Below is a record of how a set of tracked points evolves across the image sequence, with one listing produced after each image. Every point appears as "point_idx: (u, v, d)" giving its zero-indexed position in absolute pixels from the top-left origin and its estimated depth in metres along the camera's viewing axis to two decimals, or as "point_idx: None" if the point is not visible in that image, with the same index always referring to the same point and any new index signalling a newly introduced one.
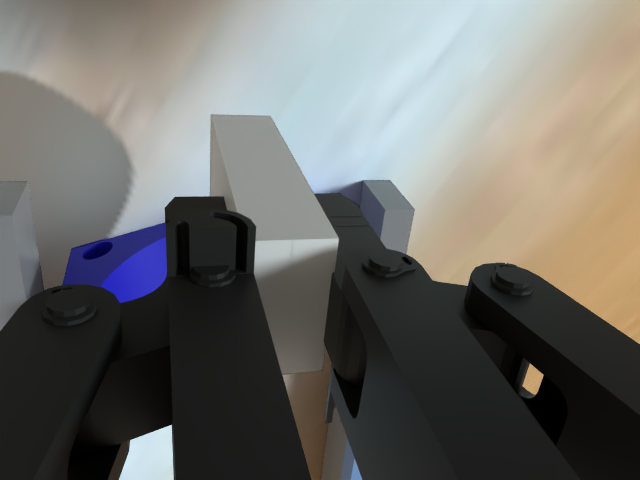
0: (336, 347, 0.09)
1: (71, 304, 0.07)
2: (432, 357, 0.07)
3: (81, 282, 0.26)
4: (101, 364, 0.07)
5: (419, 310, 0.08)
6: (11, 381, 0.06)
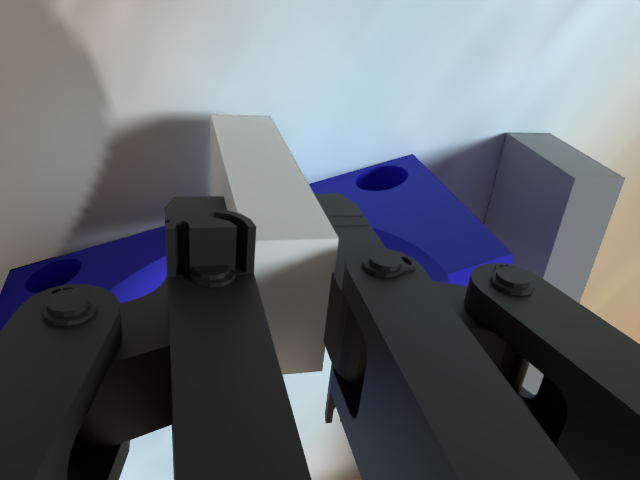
0: (336, 347, 0.09)
1: (71, 304, 0.07)
2: (432, 357, 0.07)
3: None
4: (101, 364, 0.07)
5: (419, 310, 0.08)
6: (12, 382, 0.06)
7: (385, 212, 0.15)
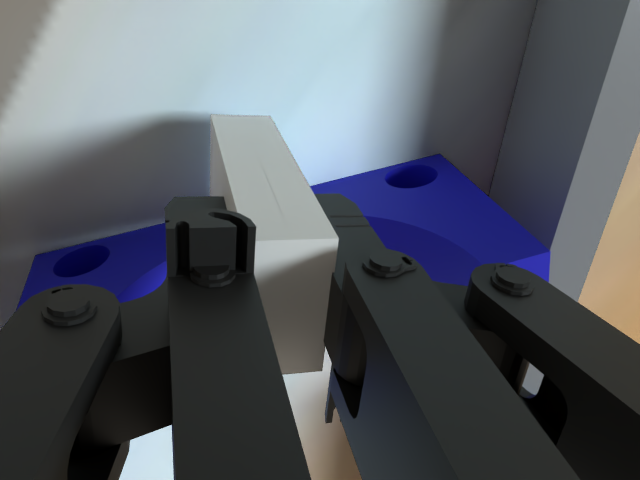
0: (336, 347, 0.09)
1: (71, 304, 0.07)
2: (432, 357, 0.07)
3: None
4: (101, 364, 0.07)
5: (419, 310, 0.08)
6: (11, 382, 0.06)
7: (417, 208, 0.15)
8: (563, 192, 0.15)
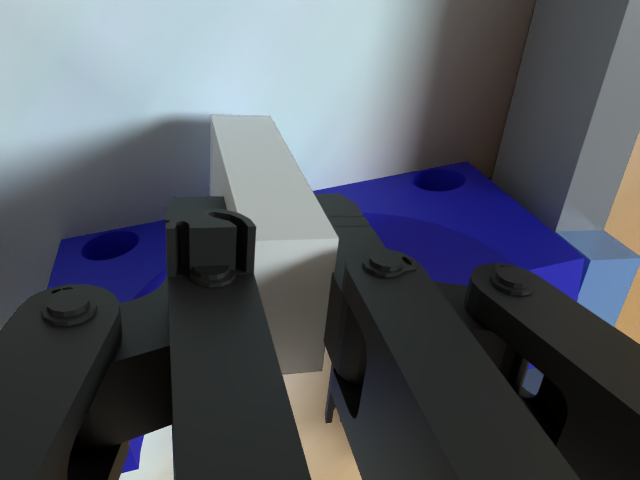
0: (336, 347, 0.09)
1: (71, 304, 0.07)
2: (432, 357, 0.07)
3: None
4: (101, 364, 0.07)
5: (419, 309, 0.08)
6: (11, 382, 0.06)
7: (449, 211, 0.15)
8: None
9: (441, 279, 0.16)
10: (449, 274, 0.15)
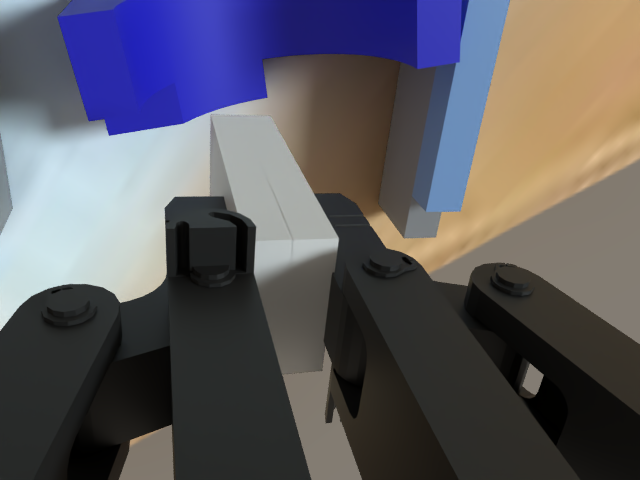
0: (336, 347, 0.09)
1: (71, 304, 0.07)
2: (432, 357, 0.07)
3: (97, 0, 0.18)
4: (101, 364, 0.07)
5: (419, 310, 0.08)
6: (11, 382, 0.06)
7: None
8: None
9: (369, 17, 0.21)
10: (374, 10, 0.20)
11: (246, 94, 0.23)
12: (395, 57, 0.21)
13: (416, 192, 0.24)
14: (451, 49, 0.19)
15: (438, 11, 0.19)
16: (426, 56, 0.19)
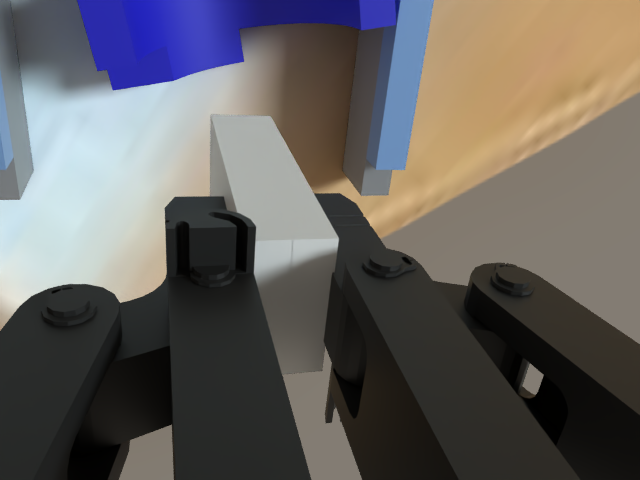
0: (336, 347, 0.09)
1: (71, 304, 0.07)
2: (432, 357, 0.07)
3: None
4: (101, 364, 0.07)
5: (419, 310, 0.08)
6: (11, 382, 0.06)
7: None
8: None
9: None
10: None
11: (226, 58, 0.28)
12: (345, 23, 0.25)
13: (369, 155, 0.29)
14: (388, 14, 0.24)
15: None
16: (368, 19, 0.24)
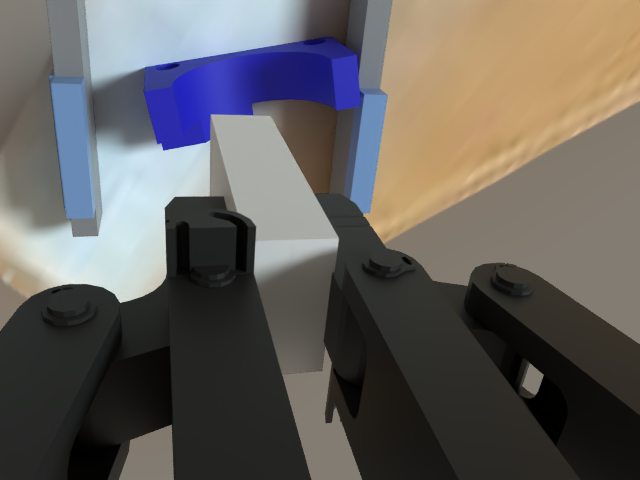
0: (336, 347, 0.09)
1: (71, 304, 0.07)
2: (432, 357, 0.07)
3: (159, 78, 0.34)
4: (101, 364, 0.07)
5: (419, 309, 0.08)
6: (10, 382, 0.06)
7: (313, 49, 0.36)
8: None
9: (311, 79, 0.36)
10: (314, 76, 0.36)
11: None
12: (326, 102, 0.36)
13: None
14: (355, 99, 0.35)
15: (345, 79, 0.34)
16: (341, 103, 0.35)
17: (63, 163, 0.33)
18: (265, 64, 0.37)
